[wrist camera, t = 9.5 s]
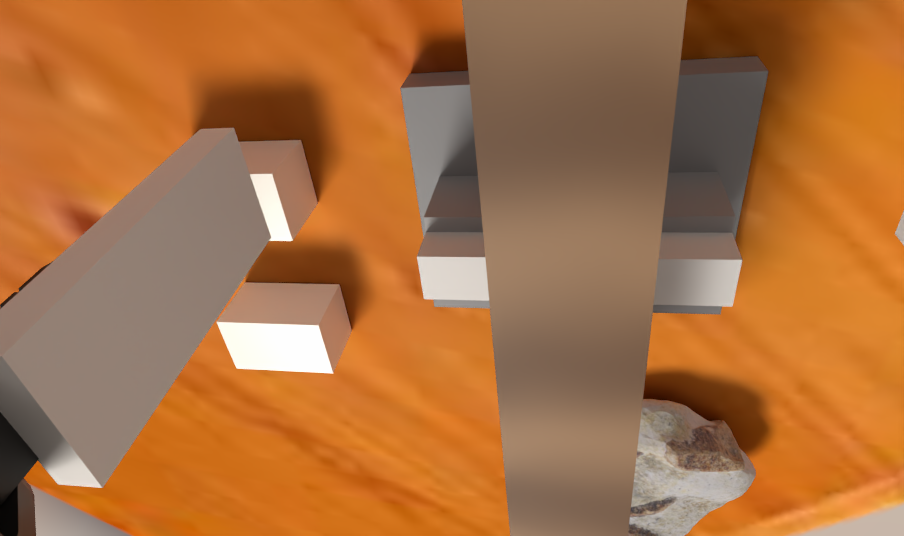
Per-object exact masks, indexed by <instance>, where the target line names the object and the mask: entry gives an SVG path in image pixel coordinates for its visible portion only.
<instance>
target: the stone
mask: <svg viewBox="0 0 904 536" xmlns="http://www.w3.org/2000/svg"><path fill="white" fill-rule="evenodd" d="M755 475H756V471H755V468H754V466H753V464H752V463H751V461H750V460H749V458H748V457H747V455H746V454H745V453H744V452H743V451H742V450H741V449H740V448H739V446H738V444H737V442H736V439H735V438H734V436H733V434H732V431H731V429H730V428H729V427H728V425H727V424H726V422H725V421H722V420H712V421H708V420H706V419H704V418H703V417H701V416H700V415H698V414H696V413H695V412H694V411H692V410H691V409H690V408H689V407H687V406H685V405H683V404H680V403H676V402H672V401H668V400H656V399H643V403H642V412H641V421H640V430H639V439H638V448H637V457H636V466H635V475H634V484H633V493H632V502H631V511H630V520H629V529H628V536H684V535H686V534H687V533H688V532H689V531H690V530H691V529H692V527H693V526H694V525H695V524H696V523H697V522H698V521H699V520H700V519H701V518H703V517H704V516H705V515H706V514H708V513H709V512H710V511H712V510H714V509H717V508H719V507H721V506H723V505H724V504H725V503H726V502H728V501H731V500H734V499H736V498H738V497H740V496H741V495H743V494H744V493H745V492H746V491H747V489H748V488H749V487H750V485H751V484H752V482H753V480H754V478H755Z"/></svg>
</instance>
